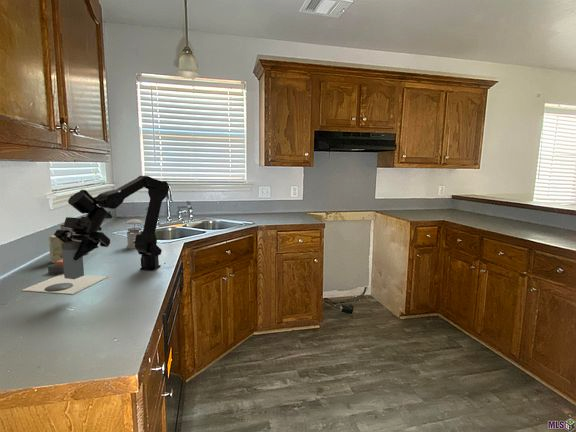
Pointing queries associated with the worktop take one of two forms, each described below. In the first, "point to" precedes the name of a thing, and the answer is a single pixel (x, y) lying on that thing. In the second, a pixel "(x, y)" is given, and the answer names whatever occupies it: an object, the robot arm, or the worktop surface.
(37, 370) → the worktop surface
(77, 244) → the dark grey block
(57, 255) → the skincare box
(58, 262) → the button
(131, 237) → the french press
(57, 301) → the worktop surface
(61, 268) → the button socket
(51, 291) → the paper sheet
